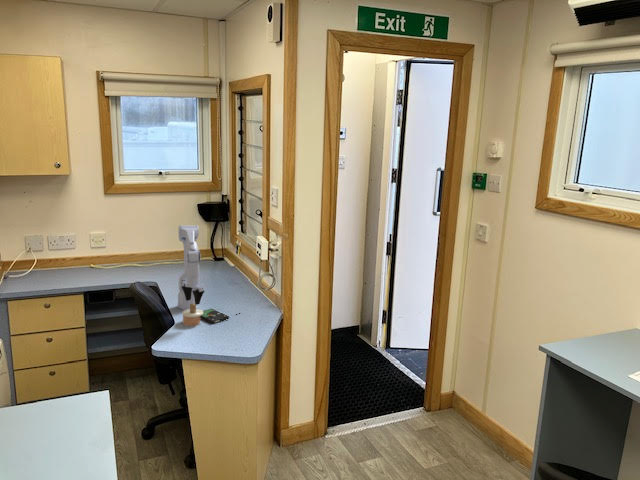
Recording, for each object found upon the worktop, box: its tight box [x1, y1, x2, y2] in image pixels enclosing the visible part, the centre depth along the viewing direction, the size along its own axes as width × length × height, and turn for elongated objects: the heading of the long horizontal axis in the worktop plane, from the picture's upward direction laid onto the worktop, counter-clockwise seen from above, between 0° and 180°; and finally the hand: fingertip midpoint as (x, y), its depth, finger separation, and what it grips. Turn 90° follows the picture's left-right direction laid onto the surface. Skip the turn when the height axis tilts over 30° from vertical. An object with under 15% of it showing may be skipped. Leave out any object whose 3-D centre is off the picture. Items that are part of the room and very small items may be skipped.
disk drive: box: [200, 308, 230, 325], centre depth 257 cm, size 10×3×15 cm
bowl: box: [182, 315, 201, 327], centre depth 250 cm, size 8×8×4 cm
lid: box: [181, 303, 204, 317], centre depth 249 cm, size 10×10×5 cm
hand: (192, 302), depth 249 cm, fingers open, 7 cm apart
